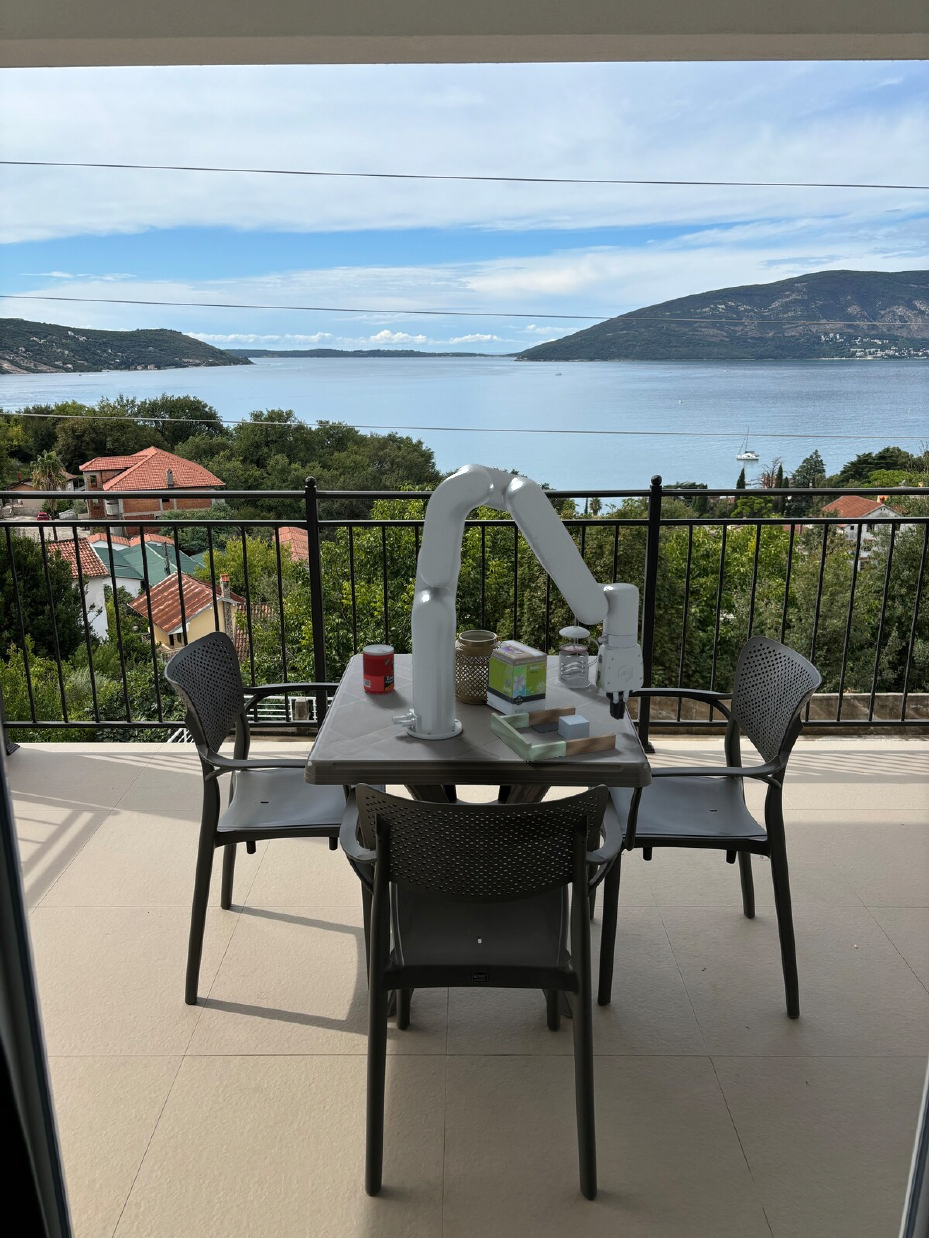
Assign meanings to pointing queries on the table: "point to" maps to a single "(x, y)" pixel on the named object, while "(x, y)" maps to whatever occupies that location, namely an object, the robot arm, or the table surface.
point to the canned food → (378, 669)
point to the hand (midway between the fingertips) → (617, 717)
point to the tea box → (517, 678)
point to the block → (573, 727)
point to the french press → (574, 659)
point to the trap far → (545, 727)
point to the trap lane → (524, 748)
